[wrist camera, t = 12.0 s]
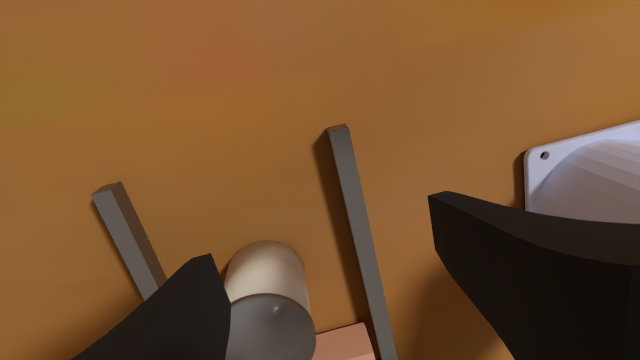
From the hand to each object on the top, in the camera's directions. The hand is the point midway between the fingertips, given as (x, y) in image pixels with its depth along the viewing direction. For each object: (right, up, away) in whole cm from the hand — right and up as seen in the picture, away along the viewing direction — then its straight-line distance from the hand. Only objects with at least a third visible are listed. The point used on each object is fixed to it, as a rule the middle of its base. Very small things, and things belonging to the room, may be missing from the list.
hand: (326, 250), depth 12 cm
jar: (-3, -3, +10) cm, 11 cm away
